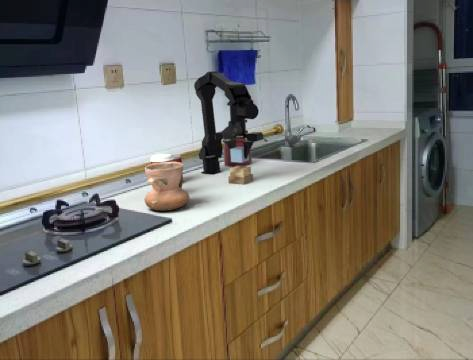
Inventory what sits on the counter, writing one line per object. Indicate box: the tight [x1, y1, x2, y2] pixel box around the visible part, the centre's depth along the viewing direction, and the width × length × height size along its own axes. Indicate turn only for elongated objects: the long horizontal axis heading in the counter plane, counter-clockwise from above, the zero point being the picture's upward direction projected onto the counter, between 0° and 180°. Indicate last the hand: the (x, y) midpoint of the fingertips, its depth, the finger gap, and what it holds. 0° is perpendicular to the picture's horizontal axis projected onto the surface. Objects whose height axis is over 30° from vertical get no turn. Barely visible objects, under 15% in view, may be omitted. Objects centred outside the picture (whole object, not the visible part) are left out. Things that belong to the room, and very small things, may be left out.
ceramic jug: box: [144, 162, 190, 212], centre depth 161 cm, size 18×14×14 cm
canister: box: [222, 132, 253, 167], centre depth 227 cm, size 13×13×18 cm
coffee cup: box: [149, 153, 174, 164], centre depth 174 cm, size 8×8×15 cm
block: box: [230, 147, 249, 163], centre depth 190 cm, size 5×5×5 cm
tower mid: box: [229, 165, 252, 178], centre depth 192 cm, size 6×6×3 cm
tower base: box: [227, 173, 254, 186], centre depth 192 cm, size 7×7×3 cm
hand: (239, 158), depth 190 cm, fingers closed on block, 5 cm apart
